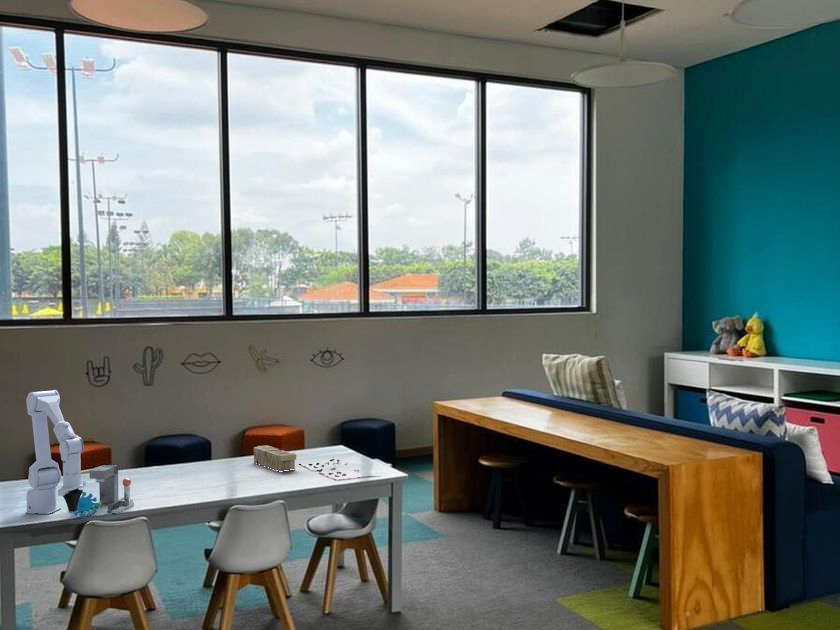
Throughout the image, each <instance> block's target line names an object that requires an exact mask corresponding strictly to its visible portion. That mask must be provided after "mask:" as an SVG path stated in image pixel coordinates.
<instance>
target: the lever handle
mask: <svg viewBox="0 0 840 630" xmlns="http://www.w3.org/2000/svg"><path fill="white" fill-rule="evenodd" d="M131 484H132V480H131V479H130V478H128V477H127V478H124V479H123V480H122V485H123V492H124V493H123V495H124V496H123V497H124V500H122V501H121V505H130V504H132V503H133V502H134V499H133V498H131V489H130V488H131Z"/></svg>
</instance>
